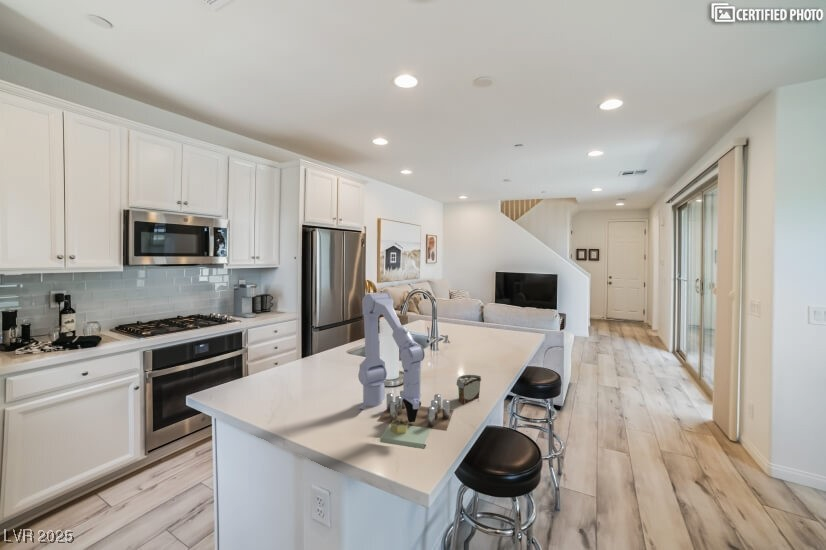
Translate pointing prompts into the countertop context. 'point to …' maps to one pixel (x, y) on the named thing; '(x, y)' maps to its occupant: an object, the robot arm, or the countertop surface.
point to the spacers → (433, 410)
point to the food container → (468, 388)
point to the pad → (407, 437)
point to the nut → (399, 426)
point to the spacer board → (420, 418)
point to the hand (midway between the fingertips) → (411, 421)
